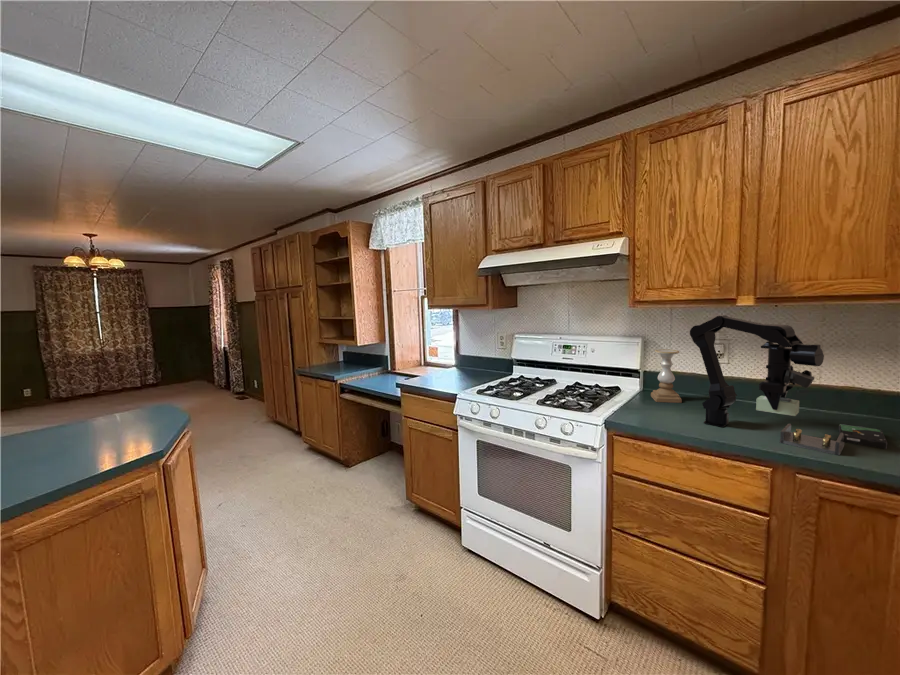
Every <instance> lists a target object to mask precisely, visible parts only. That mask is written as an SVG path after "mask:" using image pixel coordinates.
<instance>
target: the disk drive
mask: <svg viewBox="0 0 900 675" xmlns="http://www.w3.org/2000/svg"><path fill="white" fill-rule="evenodd" d="M838 433H839V434H838V436H839V435H840V433H843V434H844V442H843V443H848V444H855V445H860V446H866V447H872V448H877V449H883V450H884V449H885V450H887V449H888V440H887V438H886V437H885V434H884V431H883V430H882V429H881V428H873V427H868V426H861V425H860V426H858V425H849V424H843V423H840V424H839V425H838Z"/></svg>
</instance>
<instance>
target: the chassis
mask: <svg viewBox="0 0 900 675" xmlns="http://www.w3.org/2000/svg"><path fill="white" fill-rule="evenodd" d="M802 432H803V430H802V429H800V428H796V429H795V431H793V432H792V423H787V424H786V425H785V426H784V427H783V429H781V430H780V439H779V441H778V442H779V443H781V444H785V445H789V446H794V447H799V448H801V449H802V448H804V449H808V450H813V451H816V450H817V451H818V452H821V451H822V452H823V453H827V454H830V453H831V454H830V455H836V456H840V455H841V453H842V451H843V449H844V447H845V442H844V434H843V433H840V435H839V434H838V437H837V439H836V440H833V439H831V438H832V435H831V434H827V433H825V434H824V437H819V436H817V437H816V436H811V435H807V434H802ZM817 451H816V452H817Z"/></svg>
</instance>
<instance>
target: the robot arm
mask: <svg viewBox="0 0 900 675" xmlns="http://www.w3.org/2000/svg"><path fill="white" fill-rule="evenodd" d="M724 328H727V329H729V330H730V329H731V330H735V331H738V332H743V333H747V334H752V335H755V336H757V337H759V338H761V339H763V340H765V341H766V342H765V343H764V344H762V345H760V348H761V349H768V350H767V355H768V356H767V364H766V366H765V369H767V376H766V377H765V380H763V381H762V382H760V383H759V384H758V390H759V391H761V392H763V395H764V396H766V398H767V399H768V401H769V403H770V405H771V407H772V409H773V410H777V409H778V405H779V401H780V398H786V397H787V393H789V392H788V391H790V390H791V389H793V388H794V387H795V385H799V386H801V387H802V388H805V389H808V388H809V387H811V385H812V383H813V382H814V381H815V377H814V376H812V371H810V370H808V369H805V370H803V371H797V370H794V366H793V365H792V363H794V364H795V365H801V366H812V367H821V366H822V365H823V363H824V360H825V354H824V352H823V349H822V348H821V344H818V343H817V344H816V343H814V344H805V343H804V342H803V341H802V340H801V339H800V338H799V337H798V335H796V332H795V329H794V327H792V326H790V325H789V324H779V323H778V324H775V323H761V322H755V321H750V320H746V319H741V318H737V317H736V318H735V317H732V316H728V315H726V314H725V315H717V316H715V317H713V318H712V319H709V320H708V321H705V322H703V323H701V324H698V325H694V326H692V327H691V328H690V330H689V336H690V338H691V340H692V342H693V343H694V344H695V346H697V348H699V351H700V354H701V358H702V362H703V364H704V368H705V371H706V374H707V378H708V381H709V387H708V388H709V389H708V395H709V396H708V397H709V398H708V399H706V400H705V401H703V402H702V406H703V407H702V408H703V409H705V420H704V421H703V424H706V425H710V426H716V427H721V428H724V427H726V426H727V425H728V424H729V422H730V420H729V419H730V414H729V412H728V409H729V408H731V406H732V405H733V404H734V403H735V402H736V399H737V396H738V394H737V392H735V391H736V390H735V386H734V385H729V384H728V383H727V382H726V381H725V380H726V379H725V377H724V373H723V370H722V367H721V364H720V360H719V358H718V354H717V352H716V351H717V350H716V349H715V342H716V334H717V332H720V331H721V330H723V329H724ZM791 362H792V363H791ZM791 384H792V385H791Z"/></svg>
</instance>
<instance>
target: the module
mask: <svg viewBox="0 0 900 675" xmlns="http://www.w3.org/2000/svg"><path fill="white" fill-rule="evenodd" d="M755 402H756V404H755V405H756V407H755V410H756V411H760V412H766V413H773V414H779V415H786V416H792V417H796V416H797V415H798V414H799V413H800V400H798V399H792V398H786V397H785V398H780V401H779V405H778V409H777V410H773V409H772V407H771V405H770V403H769V401H768V399H767V398H766V396H765V395H760V396H758V397H756V401H755Z"/></svg>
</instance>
